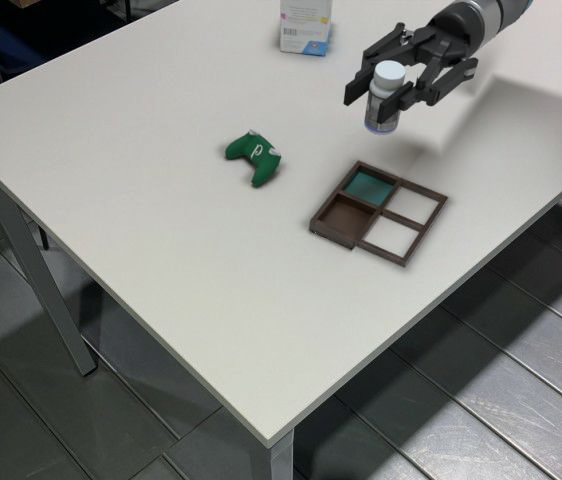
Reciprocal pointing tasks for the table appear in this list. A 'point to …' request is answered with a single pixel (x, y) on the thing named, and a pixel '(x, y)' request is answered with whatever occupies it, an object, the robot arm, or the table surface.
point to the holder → (369, 210)
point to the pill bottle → (383, 96)
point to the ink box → (305, 26)
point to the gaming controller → (256, 154)
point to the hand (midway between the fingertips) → (363, 104)
